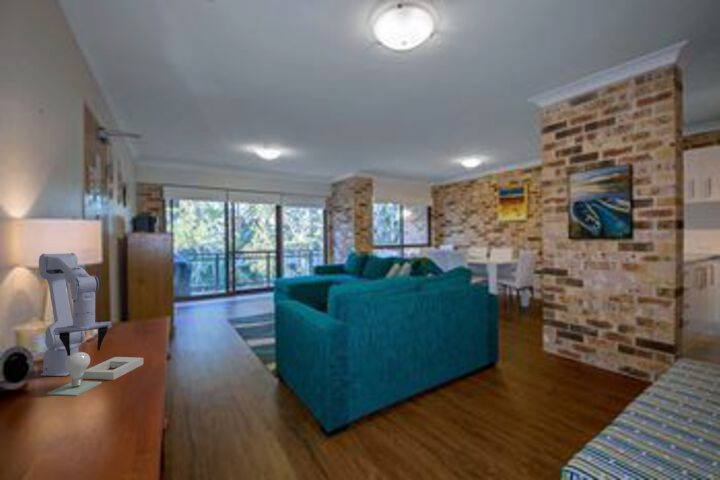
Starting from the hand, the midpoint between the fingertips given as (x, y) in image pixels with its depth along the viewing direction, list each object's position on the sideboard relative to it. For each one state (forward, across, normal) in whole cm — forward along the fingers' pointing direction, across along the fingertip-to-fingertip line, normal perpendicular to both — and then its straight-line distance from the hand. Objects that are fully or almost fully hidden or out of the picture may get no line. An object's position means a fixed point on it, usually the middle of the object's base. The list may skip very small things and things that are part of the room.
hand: (84, 352), depth 109 cm
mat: (+10, -2, -4) cm, 11 cm away
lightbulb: (+10, -2, -4) cm, 11 cm away
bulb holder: (+10, +9, +5) cm, 14 cm away
